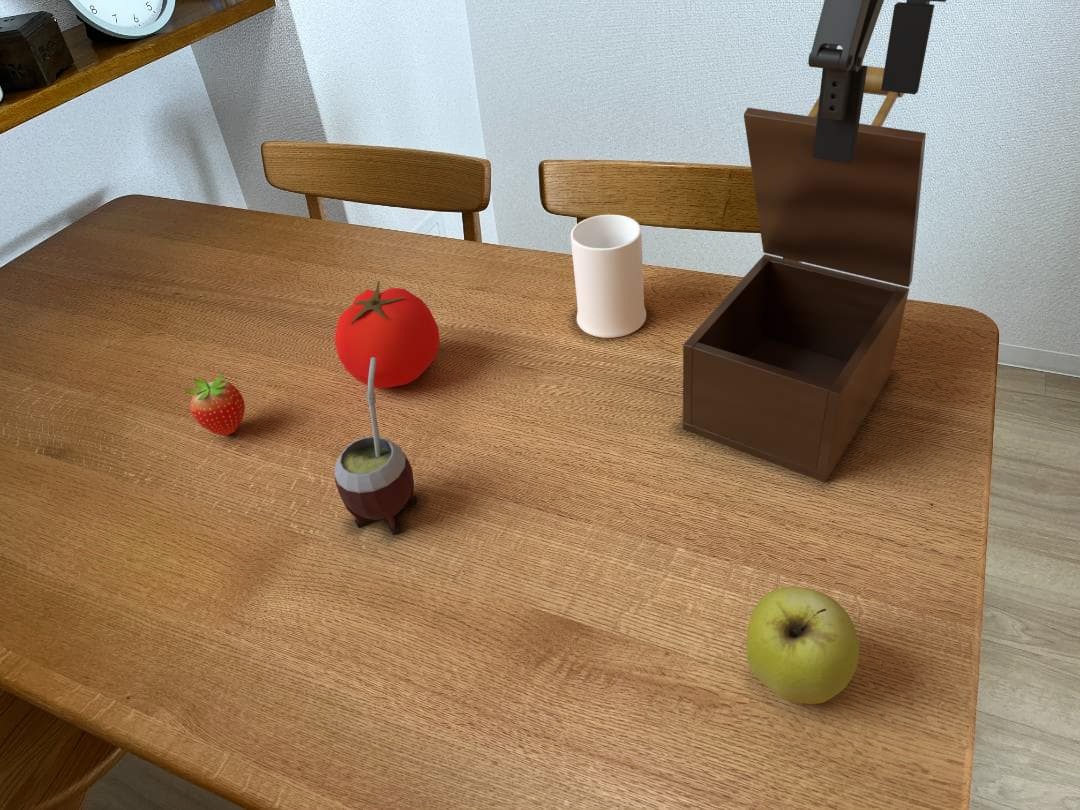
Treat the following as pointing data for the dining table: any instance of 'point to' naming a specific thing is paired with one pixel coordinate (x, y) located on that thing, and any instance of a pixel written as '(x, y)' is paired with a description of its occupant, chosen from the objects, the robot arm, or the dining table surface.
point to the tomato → (387, 337)
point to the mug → (608, 275)
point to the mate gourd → (374, 474)
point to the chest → (791, 363)
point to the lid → (838, 192)
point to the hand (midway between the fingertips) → (868, 123)
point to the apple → (802, 645)
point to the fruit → (217, 406)
